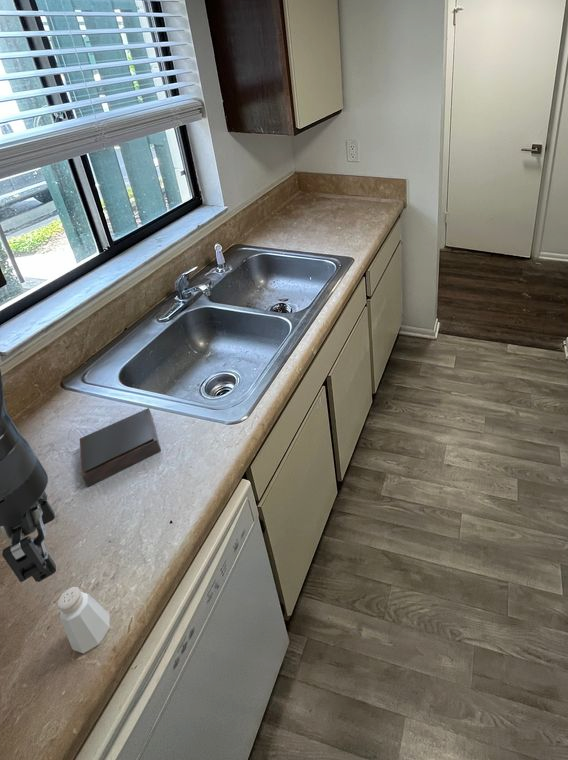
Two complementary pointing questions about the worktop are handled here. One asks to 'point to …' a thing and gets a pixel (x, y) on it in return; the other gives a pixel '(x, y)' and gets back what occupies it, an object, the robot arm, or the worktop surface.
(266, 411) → the worktop surface
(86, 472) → the wedge
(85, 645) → the pepper shaker
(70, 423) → the worktop surface
